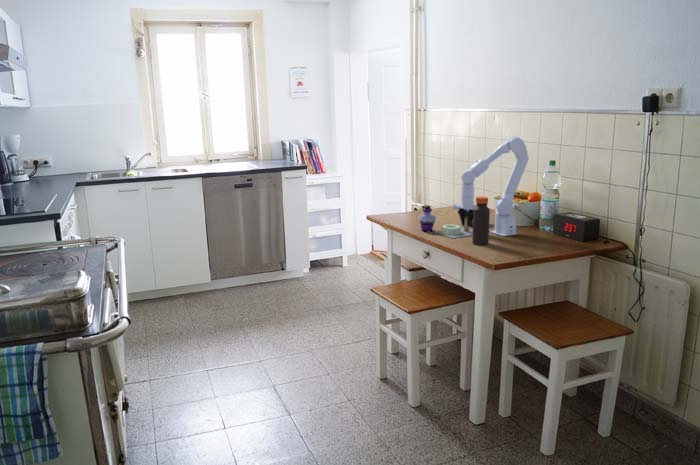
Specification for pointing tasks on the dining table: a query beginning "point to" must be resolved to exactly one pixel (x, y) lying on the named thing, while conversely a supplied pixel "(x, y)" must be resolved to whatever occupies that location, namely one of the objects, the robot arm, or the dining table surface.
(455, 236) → the mat
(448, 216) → the dining table surface
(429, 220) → the potion bottle
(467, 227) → the wooden dowel
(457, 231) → the bead
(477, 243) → the vinegar
